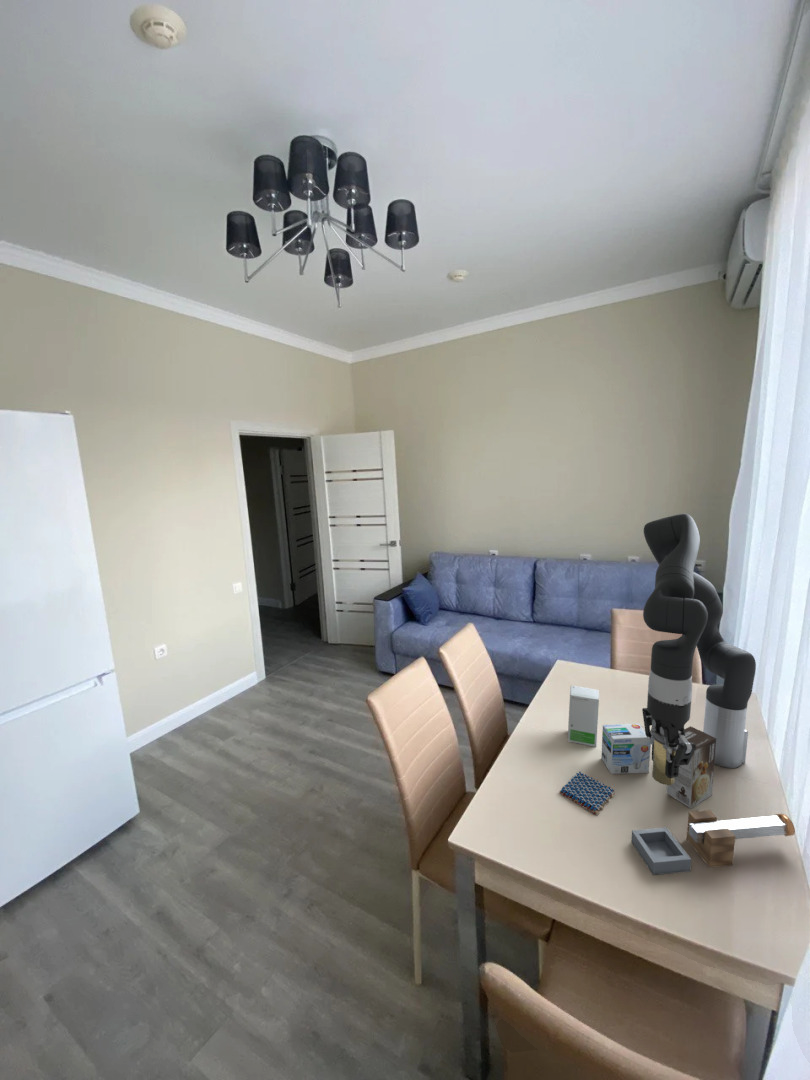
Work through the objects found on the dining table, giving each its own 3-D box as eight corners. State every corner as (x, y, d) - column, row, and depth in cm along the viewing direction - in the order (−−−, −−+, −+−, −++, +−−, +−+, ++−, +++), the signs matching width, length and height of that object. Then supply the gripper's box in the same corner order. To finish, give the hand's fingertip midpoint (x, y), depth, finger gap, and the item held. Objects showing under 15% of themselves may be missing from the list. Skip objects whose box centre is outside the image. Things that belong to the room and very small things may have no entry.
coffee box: (686, 779, 116) (690, 724, 114) (712, 795, 111) (717, 737, 108) (665, 793, 112) (669, 736, 109) (691, 809, 107) (695, 750, 104)
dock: (665, 838, 99) (666, 827, 99) (690, 871, 91) (691, 859, 91) (631, 842, 99) (631, 830, 98) (652, 874, 91) (653, 862, 90)
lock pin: (777, 825, 98) (779, 809, 97) (793, 840, 94) (795, 824, 93) (685, 833, 97) (687, 817, 96) (698, 849, 93) (700, 832, 92)
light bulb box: (611, 774, 120) (612, 739, 118) (600, 758, 126) (601, 724, 124) (650, 773, 120) (652, 737, 118) (637, 756, 126) (639, 722, 124)
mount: (707, 837, 99) (710, 809, 98) (732, 865, 92) (735, 836, 91) (686, 839, 99) (688, 811, 98) (709, 867, 92) (712, 838, 91)
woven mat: (616, 795, 113) (617, 788, 113) (597, 818, 106) (597, 811, 106) (578, 775, 121) (578, 768, 120) (557, 795, 114) (557, 788, 114)
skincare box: (567, 742, 134) (568, 695, 131) (568, 729, 140) (569, 684, 137) (597, 747, 131) (599, 699, 128) (597, 734, 137) (598, 688, 134)
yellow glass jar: (667, 769, 94) (669, 727, 92) (682, 785, 90) (685, 741, 88) (645, 771, 94) (647, 728, 92) (659, 787, 89) (662, 743, 88)
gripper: (631, 677, 95) (627, 748, 98) (674, 714, 81) (668, 796, 84) (665, 674, 95) (660, 745, 99) (713, 711, 82) (706, 792, 85)
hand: (664, 768), depth 91 cm, fingers closed on yellow glass jar, 4 cm apart
